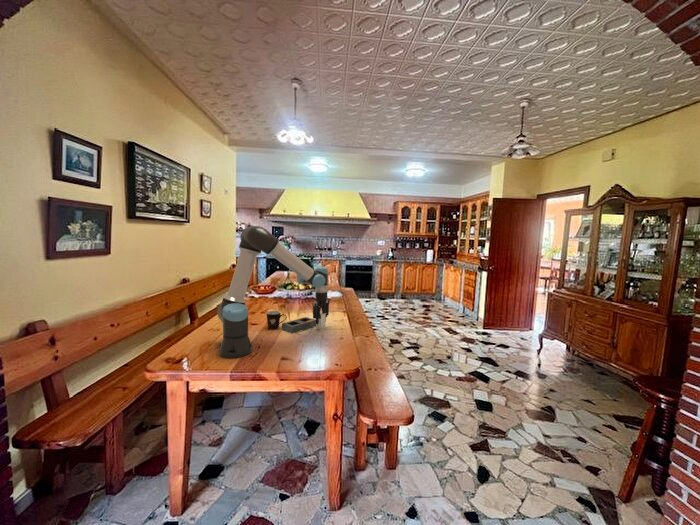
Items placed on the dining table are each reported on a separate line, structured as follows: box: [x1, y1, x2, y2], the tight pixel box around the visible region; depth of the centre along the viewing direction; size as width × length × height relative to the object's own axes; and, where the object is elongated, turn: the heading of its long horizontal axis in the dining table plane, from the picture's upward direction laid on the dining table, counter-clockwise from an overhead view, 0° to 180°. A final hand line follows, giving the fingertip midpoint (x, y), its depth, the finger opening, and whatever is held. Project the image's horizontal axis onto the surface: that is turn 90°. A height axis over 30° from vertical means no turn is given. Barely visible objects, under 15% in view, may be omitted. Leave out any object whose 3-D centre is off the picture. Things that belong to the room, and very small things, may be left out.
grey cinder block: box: [281, 316, 316, 334], centre depth 186 cm, size 20×10×4 cm, turn 141°
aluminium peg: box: [317, 311, 326, 331], centre depth 185 cm, size 4×4×10 cm
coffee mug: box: [266, 310, 287, 331], centre depth 183 cm, size 12×9×10 cm
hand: (320, 327), depth 185 cm, fingers open, 4 cm apart
